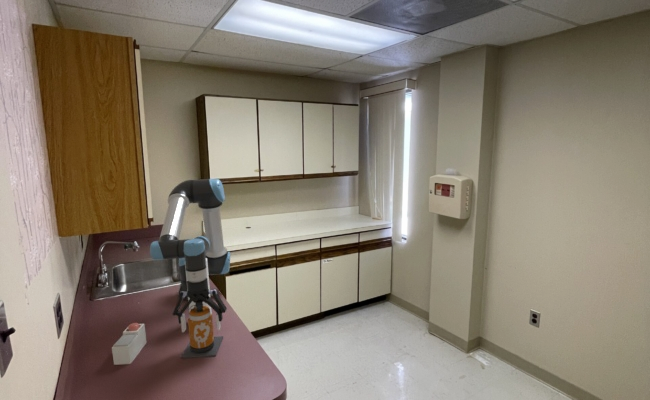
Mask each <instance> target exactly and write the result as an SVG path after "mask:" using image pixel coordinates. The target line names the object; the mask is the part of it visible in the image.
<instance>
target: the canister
mask: <svg viewBox="0 0 650 400" xmlns="http://www.w3.org/2000/svg"><path fill="white" fill-rule="evenodd" d="M193 306H195V307H194V308H192V309H190V308H191V307H192V306H191V307H190V308H189V307H188V310H191V311H189V314H188V319H187V322H188V323H187V325H188V335H189V336H188V337H189V338H188V339H189V342H190V349H191V350H192V351H193V352H204V351H207V350H209V349H211V348H212V347H213V346H214V337H215V336H214V325H213V323H214V322H213V313H212V314H211V313H210V309H209V307H207V306H203V303H202V301H201V302H196V305H193Z"/></svg>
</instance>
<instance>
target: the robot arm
mask: <svg viewBox="0 0 650 400" xmlns="http://www.w3.org/2000/svg"><path fill="white" fill-rule="evenodd" d="M225 199H226V196H225V189H224V185H223V182H222V181H221V180H220V179H219V178H202V179H186V180H184V181H182V182H180V183H178V184H177V185H175V187H174V188H173V189H172V190H171V191H170V193H169V195H168V197H167V204H168V206H167V211H166V215H165V217H164V221H163V225H162V227H161V232H160V236H159V239H158V240H155V241H152V242H151V243H150V246H149V256H150V258H151V259H152V260H155V261H159V260H161V261H166V260H176V259H178V268H179V269H178V270H179V278H180V284H179V288H178V292H177V294H178V295H177V297H178V299H177V303H176V305H175V306H174V309H173V311H172V316H177V318H178V324H179V325H180V326H181V333H185V331H186V330H187V323H186V314H185V313H184V312H185V311H186V309H188V308H189V305H190V303H191V302H192V301H193V302H194V303H196V302H201V301H202V302H203V301H204V302H205V303H207V304H208V305H209V306H210V307H211V310H213V311H214V312H215V313H216V315H215V319H216V331H220V329H221V327H222V325H221V322H222V321H223V314H224V313H226V312H227V309H228V308H227V307H226V304H225V303H224V301H223V300H222V298H221V296H220V295H219V294H218V290H217V288H213V289H210V291H209V289H208V280H207V278H206V277H207V269H206V258H207V262H208V274H209V276H213V275H214V276H215V275H225V274H228V273H229V272H230V267H231V251H228V248H226V247H225V246H224V235H223V228H222V219H221V218H222V217H221V206H223V203H224V202H225ZM190 204H198V208H199V209H201V212H202V218H203V228H204V234H205V236H203V235H198V236H196V237H194V238H187V239H185V238H184V239H180V237H181V232H182V228H183V223H184V218H185V216H186V209H187V208H188V207H189V205H190ZM185 266H186V269H185ZM186 277H187V280H188V281H187V280H186ZM187 288H188V290H187ZM209 294H210V297H209V296H208V295H209ZM211 296H212V298H213V299H214V300H213V299H212V298H211ZM188 297H189V298H190V299H189V301H188ZM183 301H187V302H186V303H185V305H183V307H182V308H181V305H182V303H183ZM180 308H181V309H180ZM179 309H180V310H179Z"/></svg>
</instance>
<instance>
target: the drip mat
mask: <svg viewBox="0 0 650 400" xmlns="http://www.w3.org/2000/svg"><path fill="white" fill-rule="evenodd" d="M223 340H224V336H223V335H222V336H221V335H220V336H214V346H213V347H212V348H211V349H209V350H207V351H204V352H193V351H192V350H191V349H190V341H189V342H188V344H187V345H186V347H185V349H184V350H183V353H182V355H181V356H180V359H188V358H189V359H190V358H191V359H193V358H194V359H195V358H207V357H208V358H210V357H217V355H218V352H219V349H220V347H221V344H222V343H223V342H222V341H223Z"/></svg>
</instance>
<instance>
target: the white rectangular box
mask: <svg viewBox="0 0 650 400" xmlns="http://www.w3.org/2000/svg"><path fill="white" fill-rule="evenodd" d="M138 324H139V329H138V330H137V331H129V328H128V326H127V327H126V329H124V331H122V335H121V337H120V338H118V340H117V341H116V342H114V344H113V346H112V347H111V353H112V358H113V366H116V365H117V366H118V365H132V363H133V361H134V360H135V359H136V358H137V357H138V355H139V354H140V353H141V352H142V349H143V348H144V347H145V345H146V344H147V336H146V335H147V334H146V327H145V326H146V324H145V323H138Z"/></svg>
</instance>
